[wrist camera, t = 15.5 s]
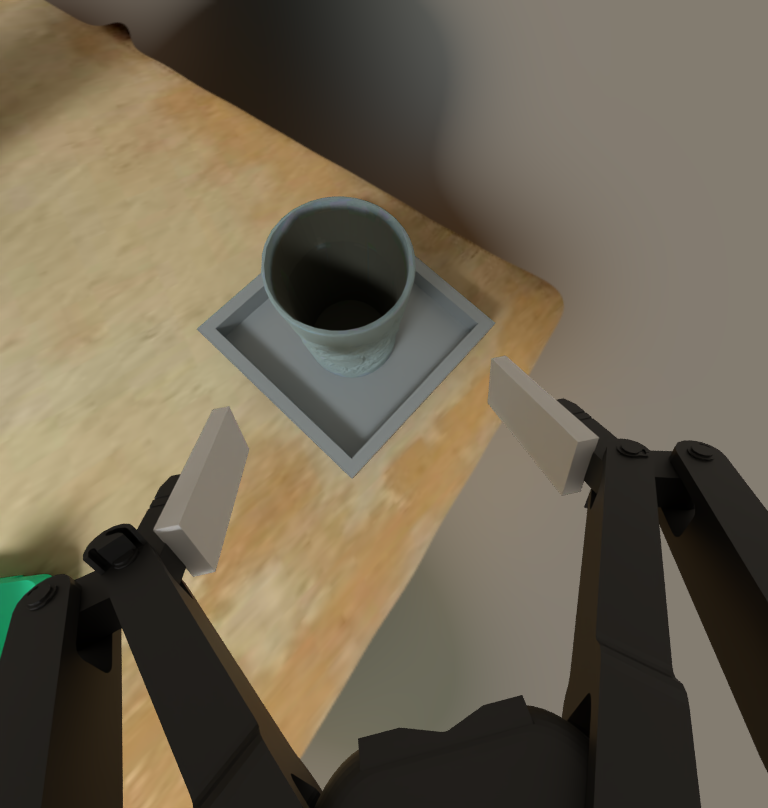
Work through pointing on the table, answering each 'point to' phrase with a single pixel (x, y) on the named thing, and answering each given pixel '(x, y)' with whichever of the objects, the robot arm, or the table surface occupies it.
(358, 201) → the grey green cup
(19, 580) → the camera mount
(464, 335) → the tray
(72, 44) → the table surface
